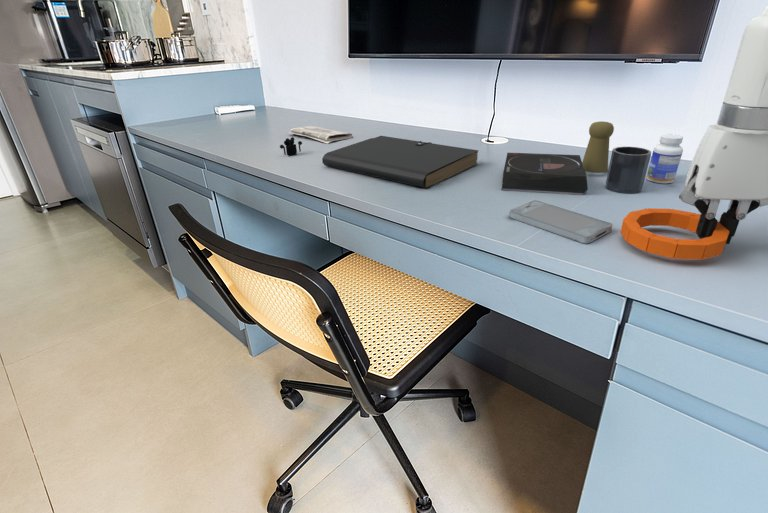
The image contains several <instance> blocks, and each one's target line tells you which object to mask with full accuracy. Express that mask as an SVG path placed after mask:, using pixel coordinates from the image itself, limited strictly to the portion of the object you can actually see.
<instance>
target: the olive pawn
mask: <svg viewBox="0 0 768 513" xmlns="http://www.w3.org/2000/svg"><path fill="white" fill-rule="evenodd" d="M614 131H615V126H614V124H613V123H611V122H609V121H594V122H593V123H591V124H590V126H589V129H588V135H589V136H590V137H589V140H588V143H587V146H586V149H585V153H584V156H583V159H582V164H583V167H584V170H585V172H589V173H605V172H608V169H609V155H610V153H609V152H610V138H611V136H613V134H614Z"/></svg>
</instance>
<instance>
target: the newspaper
mask: <svg viewBox="0 0 768 513" xmlns="http://www.w3.org/2000/svg"><path fill="white" fill-rule="evenodd" d="M287 133H288V134H292V135H297V136H302V137H307V138H309V139H313V140H316V141H319V142H322V143H325V144H327V145H328V144H329V143H332V142H334V141H341V140H342V141H343V140H348V139H350V138H352V136H353V133H349V132H344V131H340V130H335V129H330V128H324V127H319V126H314V125H310V126H309V125H308V126H307V125H306V126H299V127H298V126H297V127H294V128H290V131H287Z"/></svg>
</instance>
